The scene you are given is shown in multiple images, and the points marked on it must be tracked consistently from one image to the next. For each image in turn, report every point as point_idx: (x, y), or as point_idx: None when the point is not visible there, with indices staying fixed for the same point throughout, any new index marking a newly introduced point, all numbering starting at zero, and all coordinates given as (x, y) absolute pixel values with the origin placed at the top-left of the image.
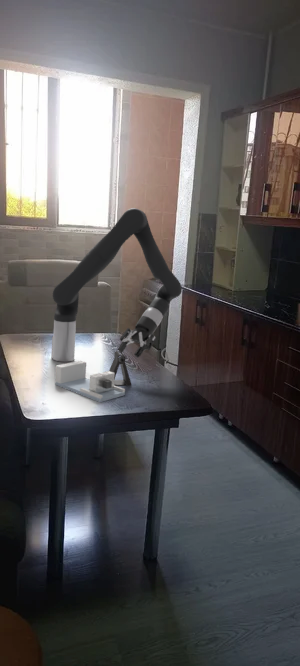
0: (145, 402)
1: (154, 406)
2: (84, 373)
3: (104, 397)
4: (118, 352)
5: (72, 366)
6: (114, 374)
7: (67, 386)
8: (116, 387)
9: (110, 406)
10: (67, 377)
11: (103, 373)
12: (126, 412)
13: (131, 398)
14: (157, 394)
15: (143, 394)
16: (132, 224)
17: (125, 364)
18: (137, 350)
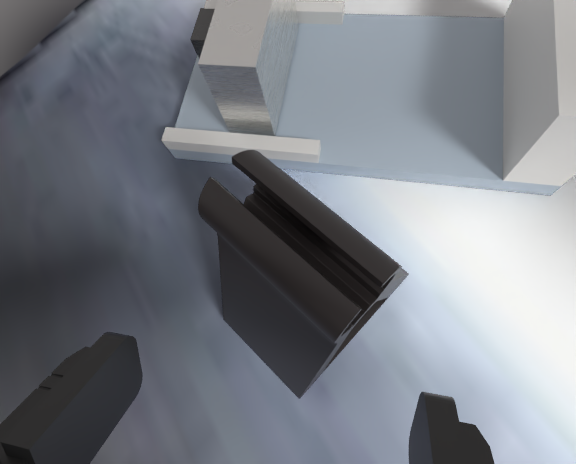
0: (52, 149)
1: (3, 138)
2: (515, 153)
3: None
4: (309, 218)
5: (547, 4)
6: (201, 69)
7: (442, 17)
8: (212, 131)
9: (157, 22)
10: (515, 33)
11: (247, 7)
12: (79, 21)
13: (127, 146)
14: (36, 288)
15: (101, 234)
16: None
17: (218, 241)
18: (75, 379)
